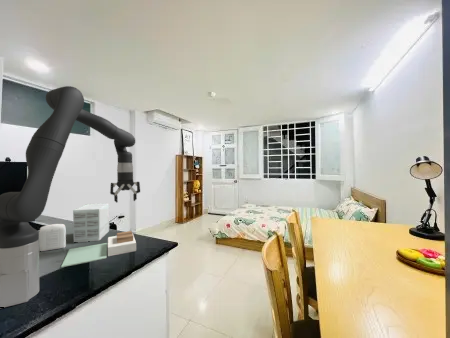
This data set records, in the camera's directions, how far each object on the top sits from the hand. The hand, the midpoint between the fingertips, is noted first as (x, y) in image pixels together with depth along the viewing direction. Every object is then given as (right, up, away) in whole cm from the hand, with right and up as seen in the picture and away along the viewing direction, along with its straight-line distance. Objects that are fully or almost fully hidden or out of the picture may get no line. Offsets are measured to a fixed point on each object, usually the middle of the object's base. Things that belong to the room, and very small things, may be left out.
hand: (125, 201), depth 106 cm
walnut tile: (+2, -18, -4) cm, 18 cm away
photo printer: (-34, -23, -6) cm, 41 cm away
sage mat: (-12, -23, -12) cm, 29 cm away
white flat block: (0, -23, -5) cm, 23 cm away
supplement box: (-25, -23, +11) cm, 36 cm away
